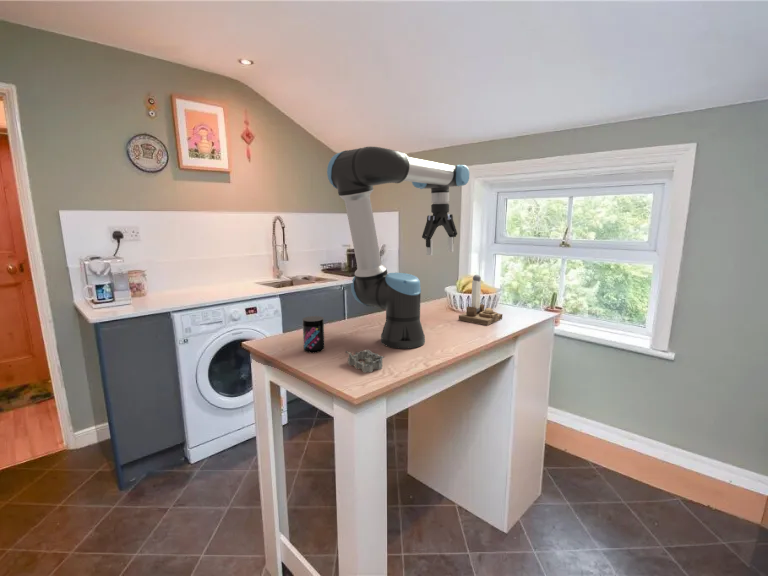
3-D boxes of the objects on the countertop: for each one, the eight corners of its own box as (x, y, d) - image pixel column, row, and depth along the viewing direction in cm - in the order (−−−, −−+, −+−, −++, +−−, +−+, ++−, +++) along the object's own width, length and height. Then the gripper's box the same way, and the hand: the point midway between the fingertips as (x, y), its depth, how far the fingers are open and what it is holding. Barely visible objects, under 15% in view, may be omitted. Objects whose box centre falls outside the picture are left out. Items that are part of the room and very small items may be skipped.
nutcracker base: (487, 325, 150) (488, 312, 149) (458, 320, 158) (459, 307, 157) (502, 318, 160) (503, 306, 159) (474, 313, 169) (474, 301, 168)
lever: (476, 314, 158) (477, 275, 155) (469, 313, 160) (470, 274, 157) (481, 312, 161) (483, 274, 158) (474, 311, 163) (476, 273, 160)
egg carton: (344, 364, 111) (344, 350, 110) (365, 358, 115) (365, 345, 115) (364, 375, 102) (364, 361, 102) (386, 368, 107) (386, 355, 106)
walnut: (490, 317, 154) (491, 309, 153) (482, 316, 156) (482, 307, 156) (494, 316, 157) (494, 307, 156) (486, 314, 159) (486, 306, 158)
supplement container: (300, 349, 123) (298, 318, 121) (318, 345, 127) (317, 315, 125) (309, 354, 118) (308, 322, 116) (328, 350, 122) (327, 319, 120)
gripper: (452, 203, 170) (451, 250, 174) (412, 204, 154) (413, 255, 158) (465, 202, 164) (465, 251, 168) (426, 203, 148) (427, 257, 153)
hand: (440, 253), depth 163 cm, fingers open, 13 cm apart
